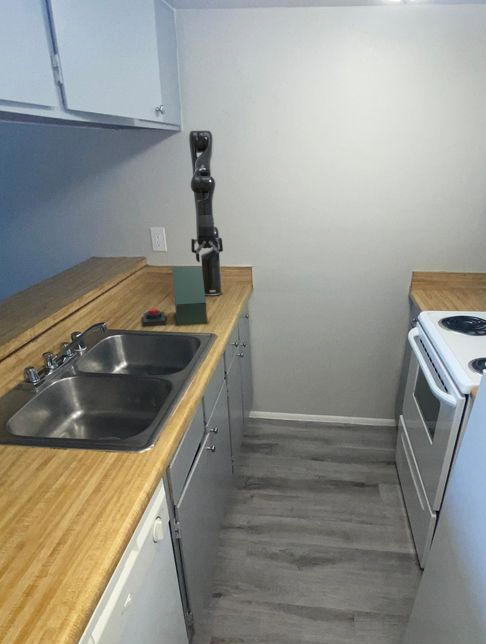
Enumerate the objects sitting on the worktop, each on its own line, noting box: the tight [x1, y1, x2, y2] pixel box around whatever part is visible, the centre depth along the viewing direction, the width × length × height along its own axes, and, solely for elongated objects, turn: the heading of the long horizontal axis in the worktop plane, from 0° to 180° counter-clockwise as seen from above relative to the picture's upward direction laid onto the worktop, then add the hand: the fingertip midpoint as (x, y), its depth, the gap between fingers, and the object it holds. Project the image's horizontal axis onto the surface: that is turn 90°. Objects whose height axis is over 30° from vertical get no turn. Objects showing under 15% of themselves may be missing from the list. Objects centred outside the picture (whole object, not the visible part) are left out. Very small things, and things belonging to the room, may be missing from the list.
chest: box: [173, 295, 208, 326], centre depth 209 cm, size 16×13×9 cm
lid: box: [171, 265, 207, 305], centre depth 201 cm, size 16×13×1 cm
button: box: [148, 308, 159, 314], centre depth 205 cm, size 4×4×2 cm
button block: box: [142, 310, 166, 328], centre depth 207 cm, size 12×9×4 cm
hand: (207, 261), depth 219 cm, fingers open, 8 cm apart
